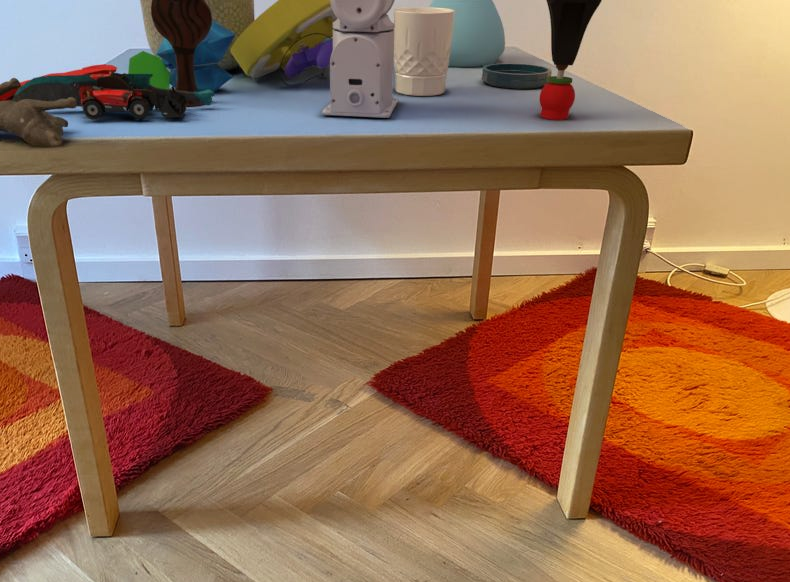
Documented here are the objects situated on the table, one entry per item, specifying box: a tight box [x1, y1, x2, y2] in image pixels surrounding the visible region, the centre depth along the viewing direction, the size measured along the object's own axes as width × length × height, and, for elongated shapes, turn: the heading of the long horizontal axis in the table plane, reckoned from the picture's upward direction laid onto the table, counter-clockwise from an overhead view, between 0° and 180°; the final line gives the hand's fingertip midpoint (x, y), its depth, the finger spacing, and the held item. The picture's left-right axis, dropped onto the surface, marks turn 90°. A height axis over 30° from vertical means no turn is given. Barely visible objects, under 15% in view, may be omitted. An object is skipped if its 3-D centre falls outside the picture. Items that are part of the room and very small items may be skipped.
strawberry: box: [539, 65, 576, 121], centre depth 80 cm, size 4×4×11 cm
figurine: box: [151, 0, 212, 108], centre depth 84 cm, size 7×5×18 cm
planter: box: [139, 0, 256, 72], centre depth 105 cm, size 17×17×15 cm
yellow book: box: [231, 0, 338, 79], centre depth 100 cm, size 16×21×5 cm
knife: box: [12, 74, 215, 107], centre depth 83 cm, size 24×1×5 cm, turn 97°
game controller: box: [279, 33, 333, 87], centre depth 97 cm, size 10×8×10 cm
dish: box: [481, 62, 553, 90], centre depth 101 cm, size 10×10×2 cm
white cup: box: [393, 6, 455, 97], centre depth 93 cm, size 8×8×10 cm
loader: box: [73, 72, 187, 121], centre depth 80 cm, size 12×5×5 cm, turn 94°
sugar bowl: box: [428, 0, 506, 68], centre depth 115 cm, size 15×15×12 cm
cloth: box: [0, 63, 118, 102], centre depth 92 cm, size 26×14×2 cm, turn 175°
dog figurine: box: [0, 77, 78, 148], centre depth 72 cm, size 12×6×7 cm
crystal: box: [156, 20, 236, 92], centre depth 93 cm, size 7×9×12 cm
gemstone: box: [127, 50, 171, 89], centre depth 92 cm, size 6×6×6 cm
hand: (562, 63), depth 80 cm, fingers closed
